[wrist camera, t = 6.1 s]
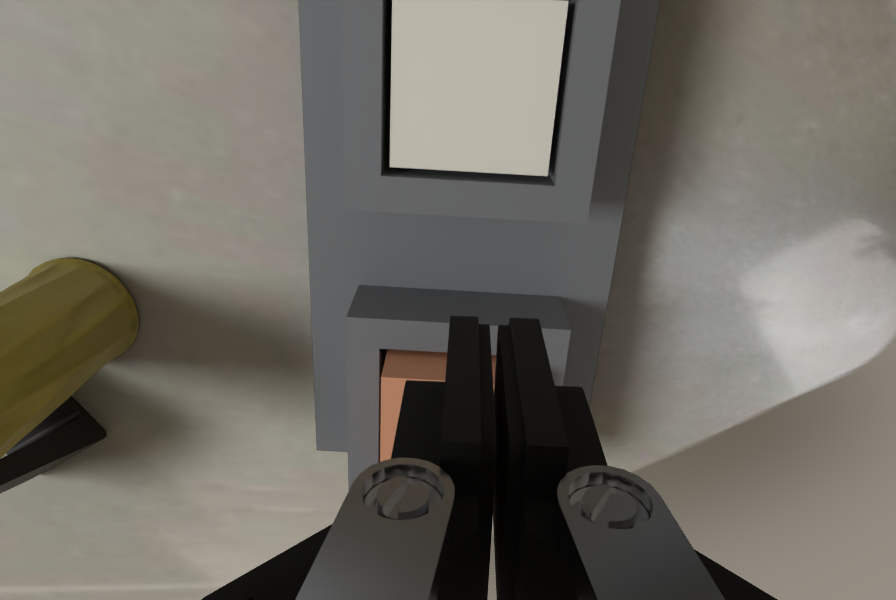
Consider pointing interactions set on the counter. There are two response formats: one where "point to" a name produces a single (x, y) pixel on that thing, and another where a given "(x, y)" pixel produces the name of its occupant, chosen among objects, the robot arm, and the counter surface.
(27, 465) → the phone stand
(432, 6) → the ivory button
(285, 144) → the counter surface
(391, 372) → the terracotta button
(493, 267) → the button panel
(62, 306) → the vase
